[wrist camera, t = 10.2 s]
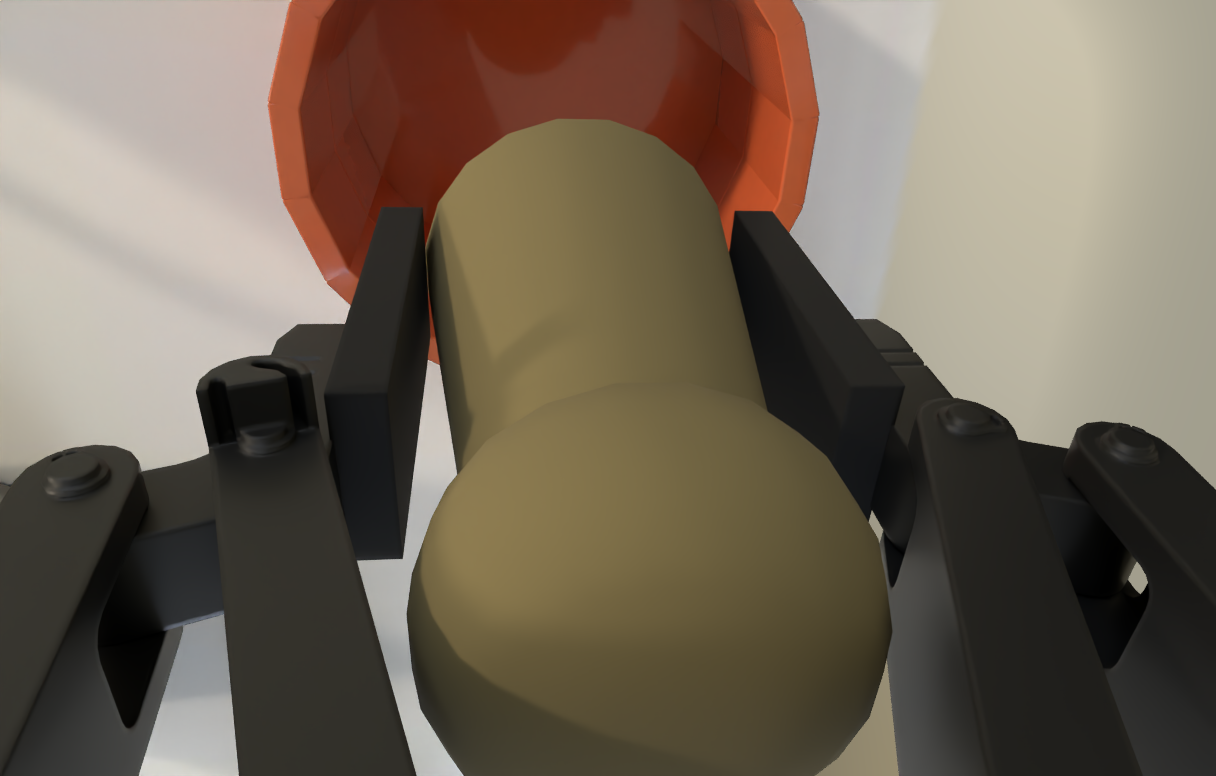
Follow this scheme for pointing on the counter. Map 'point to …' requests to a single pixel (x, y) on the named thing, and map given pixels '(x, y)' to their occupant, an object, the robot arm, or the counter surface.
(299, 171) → the pot
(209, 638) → the counter surface
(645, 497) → the cork
